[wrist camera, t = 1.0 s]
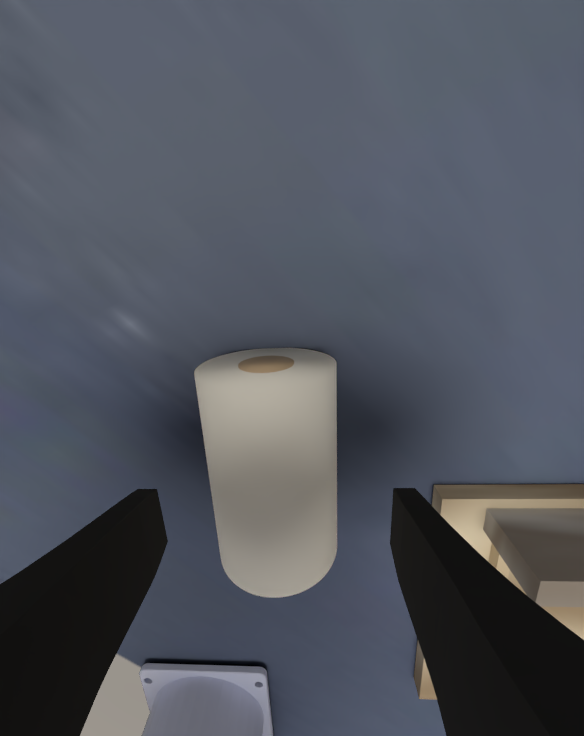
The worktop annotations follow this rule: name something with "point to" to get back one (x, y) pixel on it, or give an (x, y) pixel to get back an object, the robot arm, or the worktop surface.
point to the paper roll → (272, 465)
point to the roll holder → (521, 545)
